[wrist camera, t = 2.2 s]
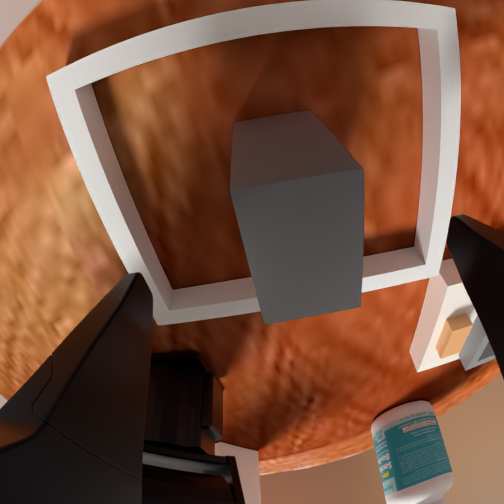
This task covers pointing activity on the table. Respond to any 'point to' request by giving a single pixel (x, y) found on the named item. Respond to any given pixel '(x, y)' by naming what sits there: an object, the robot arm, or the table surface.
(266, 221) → the plug
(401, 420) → the pill bottle
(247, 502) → the milk
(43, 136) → the table surface
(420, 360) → the power strip
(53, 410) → the robot arm
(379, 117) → the table surface
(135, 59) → the white square frame
